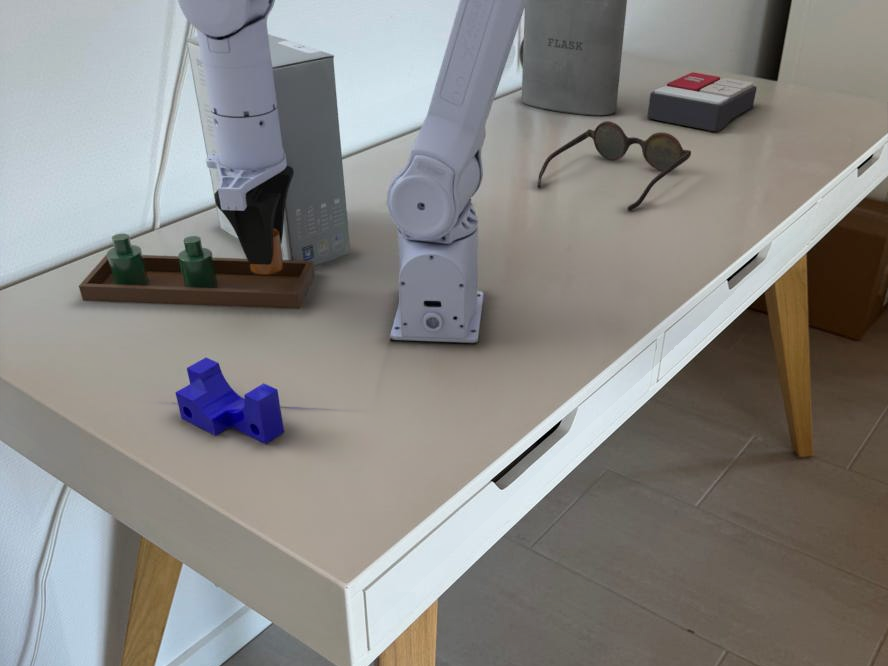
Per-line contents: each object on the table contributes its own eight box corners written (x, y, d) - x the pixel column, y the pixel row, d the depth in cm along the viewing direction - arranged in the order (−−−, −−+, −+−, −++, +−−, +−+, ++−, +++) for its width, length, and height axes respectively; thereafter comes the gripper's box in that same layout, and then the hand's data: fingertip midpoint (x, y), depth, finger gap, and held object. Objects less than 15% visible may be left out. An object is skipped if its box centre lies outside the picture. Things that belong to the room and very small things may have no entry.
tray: (299, 312, 87) (297, 294, 86) (83, 303, 88) (78, 285, 87) (315, 278, 93) (313, 260, 91) (111, 270, 94) (107, 253, 92)
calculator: (759, 81, 136) (722, 100, 126) (752, 111, 139) (716, 132, 128) (690, 69, 141) (650, 87, 131) (685, 98, 143) (645, 118, 133)
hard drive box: (353, 255, 97) (337, 55, 84) (292, 276, 93) (265, 69, 80) (275, 211, 106) (249, 24, 93) (216, 229, 102) (181, 36, 89)
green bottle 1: (142, 292, 89) (130, 244, 86) (110, 291, 89) (97, 243, 86) (153, 277, 91) (142, 230, 88) (122, 276, 92) (110, 229, 88)
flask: (514, 105, 138) (518, -45, 125) (528, 95, 142) (534, -52, 129) (608, 119, 133) (622, -36, 120) (620, 108, 137) (635, -43, 125)
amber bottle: (279, 275, 87) (272, 225, 84) (246, 274, 87) (238, 224, 84) (287, 261, 89) (280, 212, 86) (255, 259, 90) (247, 211, 86)
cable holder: (181, 418, 73) (171, 376, 71) (214, 398, 75) (206, 357, 73) (251, 453, 70) (243, 410, 67) (284, 432, 72) (277, 389, 69)
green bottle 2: (212, 295, 89) (203, 247, 86) (180, 293, 89) (170, 245, 86) (222, 280, 91) (213, 232, 88) (190, 279, 91) (180, 231, 88)
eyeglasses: (687, 175, 116) (694, 135, 113) (636, 213, 106) (641, 171, 103) (586, 153, 122) (589, 114, 119) (529, 187, 112) (531, 146, 109)
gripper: (222, 82, 85) (244, 221, 93) (171, 133, 73) (202, 286, 82) (297, 84, 84) (312, 224, 93) (257, 136, 73) (279, 289, 82)
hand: (265, 254), depth 87 cm, fingers closed on amber bottle, 3 cm apart
